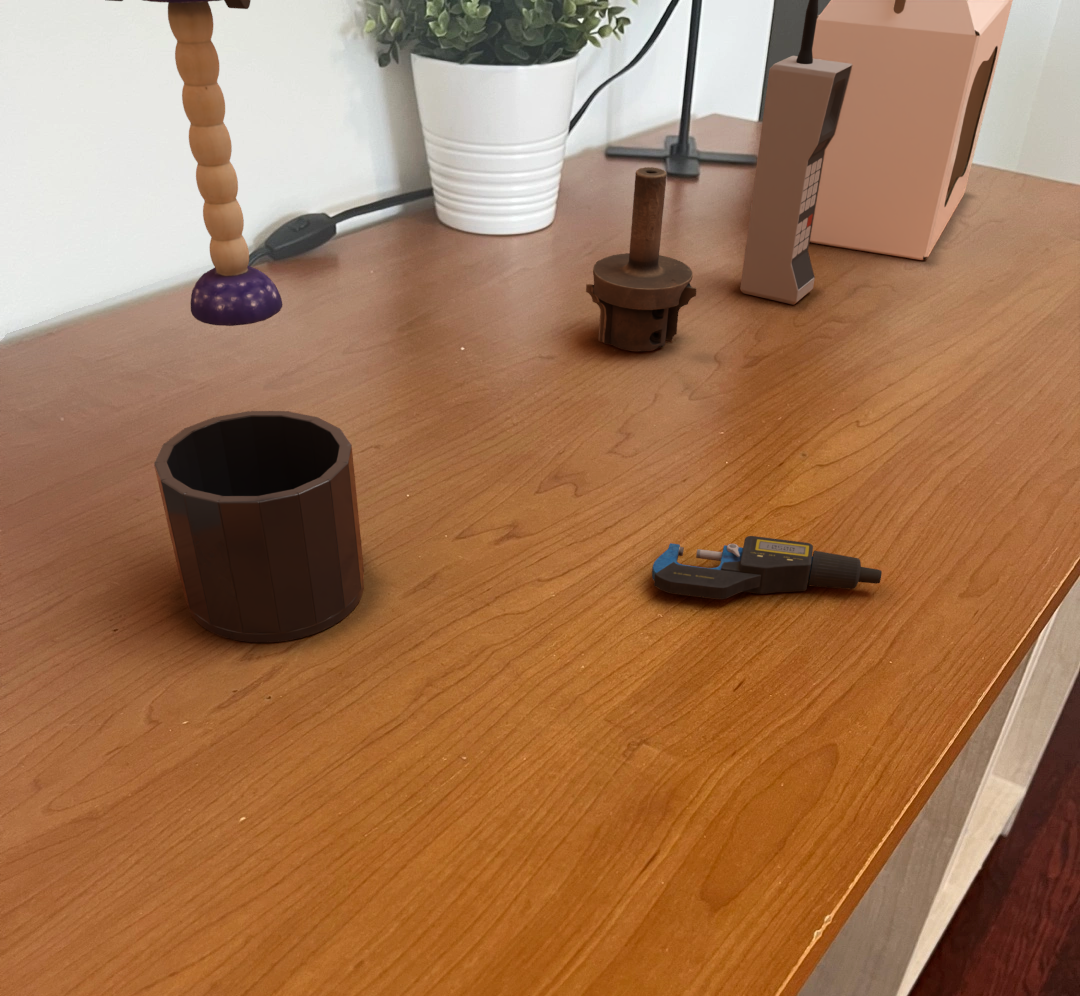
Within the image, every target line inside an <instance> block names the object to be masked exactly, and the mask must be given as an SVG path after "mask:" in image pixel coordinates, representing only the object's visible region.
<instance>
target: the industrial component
mask: <svg viewBox="0 0 1080 996" xmlns="http://www.w3.org/2000/svg"><path fill="white" fill-rule="evenodd" d="M667 176H668V175H667V171H666V170H664V169H662V168H659V167H653V166H647V167H640V168H637V170H635V177H634V190H633V199H632V201H633V202H632V203H633V204H632V214H631V215H632V216H631V228H630V240H629V252H625V253H619V254H618V253H617V254H613V255H609V256H606V257H603V258H601V259H599V260H598V261H596V262H595V263H594V265H593V268H592V275H593V284H590V283H586V285H585V292H586V293H587V294H588V295H590V297H591V301H592V303H594V304H596V305H597V306H598V308H599V312H600V313H599V326H598V327H599V328H598V342H601V343H603V344H605V345H610V346H613V347H615V348H618V349H621V350H624V351H631V352H652V351H655V350H657V349H660V348H664V347H665V346H666V341H669V342H671V341H673V339H674V336H676V335H677V333H678V321H679V312H680V309H681V308H682V307H685V306H687V305H689V302H690V300H691V299H693V298H696V296H697V289H698V288H697V287H693V286H692V285H691V281H692V280H693V270H692V268H690V266H688V265H687V264H686V263H684V262H683V261H681V260H678V259H676V258H673V257H670V256H665V255H661V254H660V248H661V237H662V228H663V217H664V206H665V198H666V186H667ZM614 351H615V352H616V349H614Z"/></svg>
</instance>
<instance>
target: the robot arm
mask: <svg viewBox="0 0 1080 996" xmlns="http://www.w3.org/2000/svg"><path fill="white" fill-rule="evenodd" d="M106 1H107V2H109V1H110V2H123V1H124V0H106ZM223 1H224V3H225V5H226V6H227V8H229V9H237V10H238V9H239V10H249V8H250V6H251V0H223Z"/></svg>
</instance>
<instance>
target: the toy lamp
mask: <svg viewBox="0 0 1080 996" xmlns="http://www.w3.org/2000/svg"><path fill="white" fill-rule="evenodd" d="M142 1H144V2H149V3H153V2H154V3H167V20H168V24H169V27H170V30H171V33H172V35H173V37H174V38H175V39H176V45H175V50H174V60H175V66H176V69H177V72H178V75H179V77H180V78H181V80H182V82H183V85H182V89H181V91H182V92H181V100H182V101H181V102H182V106H183V107H182V108H183V110H184V113H185V115H186V118H187V119H188V121H189V123H190V124H189V129H188V143H189V144H188V145H189V148H190V151H191V154H192V157H193V158H194V160H195V161H196V163H197V166H196V170H195V182H196V186H197V190H198V192H199V194H200V196H201V197H202V199H203V200H204V202H203V206H202V217H203V223H204V226H205V229H206V231H207V233H208V234H209V237H210V242H209V256H210V260H211V262H212V264H213V268H211V269H209V270H208V271H206V272H204V273H203V274H202V275H201V276H200V277H199V278H198V280H197V281H196V282H195V284H194V287H193V288H192V290H191V295H190V312H191V315H192V316H193V318H194V319H195V320H197V321H199V322H201V323H203V324H207V325H212V326H218V327H219V326H221V327H223V326H226V327H236V326H244V325H251V324H256V323H259V322H264V321H266V320H269V319H270V318H272V317H274V316H275V315H277V314H278V313H280V311H281V310H282V308H283V300H282V296H281V294H280V291H279V289H278V287H277V286H276V284H275V283H274V281H273V280H272V279H271V278H270V277H269V276H268V275H267V274H266V273H264V272H262V270H260V269H258V268H256V267H252V266H250V265H249V263H250V251H249V247H248V243H247V241H246V239H245V237H244V236H243V231H244V226H245V224H244V223H245V222H244V214H243V210H242V206H241V205H240V203H239V201H238V200H237V196H238V191H239V182H238V180H239V179H238V176H237V172H236V170H235V167H234V166H233V164H232V162H231V157H232V151H233V150H232V149H233V148H232V146H233V145H232V140H231V136H230V132H229V130H228V127H227V125H226V124H225V122H224V120H225V116H226V101H225V96H224V93H223V90H222V88H221V86H220V84H219V83H218V79H219V75H220V59H219V55H218V51H217V49H216V47H215V44H214V43H213V41H212V37H213V33H214V16H213V13H212V8H211V6H210V3H209V2H220V1H222V0H142Z"/></svg>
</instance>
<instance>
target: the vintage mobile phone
mask: <svg viewBox="0 0 1080 996" xmlns="http://www.w3.org/2000/svg"><path fill="white" fill-rule="evenodd" d="M818 15H819V0H808V3H807V7H806V10H805V15H804V22H803V23H804V24H803V31H802V35H801V36H802V37H801V43H800V50H799V52H798V55H791V56H789V57H786V58H784V59H782V60H780V61H777V62H775V63H773V64H772V66H770V67H769V71H768V77H767V78H768V79H767V86H766V93H765V100H764V107H763V108H764V109H763V115H762V122H761V130H760V138H759V146H758V154H757V160H756V167H755V174H754V175H755V176H754V182H753V190H752V198H751V205H750V213H749V220H748V227H747V234H746V242H745V248H744V249H745V250H744V255H743V257H744V258H743V264H742V272H741V279H740V286H739V287H740V288H739V290H740V292H742V294H745V295H750V296H754V297H758V298H762V299H766V300H771V301H775V302H780V303H784V304H789V305H795V304H797V303H799V301H801V299H803V298H804V297H805V296H806V295H807V294H809V293H810V292H811V291H812V290H813V289H814V285H815V278H816V277H815V273H814V268H813V265H812V261H811V257H810V253H809V249H810V243H811V242H810V237H811V232H812V226H813V220H814V214H815V208H816V202H817V196H818V190H819V184H820V179H821V173H822V167H823V161H824V155H825V149H826V148H827V146H828V145H829V143H830V141H831V140H832V138H833V137H834V135H835V132H836V128H837V124H838V120H839V116H840V112H841V109H842V105H843V101H844V97H845V93H846V89H847V85H848V81H849V77H850V73H851V70H852V64H849V63H842V62H835V61H828V60H820V59H813V55H812V47H813V41H814V35H815V28H816V22H817V16H818Z"/></svg>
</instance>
